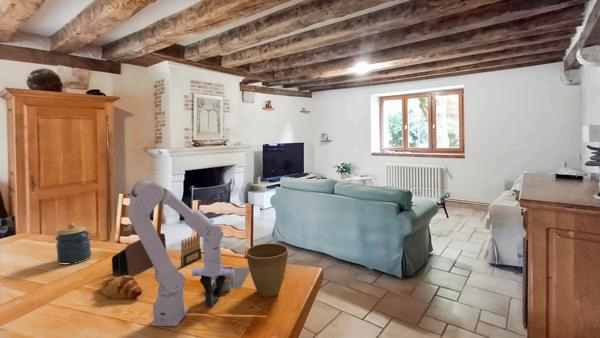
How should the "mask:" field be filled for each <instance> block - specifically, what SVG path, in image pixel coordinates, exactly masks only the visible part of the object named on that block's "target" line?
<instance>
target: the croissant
mask: <svg viewBox="0 0 600 338" xmlns="http://www.w3.org/2000/svg"><path fill="white" fill-rule="evenodd" d="M138 283H139V282H137V281H136V280H135V278H134V276H133V277H132V276H122V277H121V276H118V277H117V276H116V277H111V278H108V279H105V280H104V281H102V283H101V284H100V287H101V292H102V293H103V295H104V296H105V298H111V299H113V300H114V299H115V300H119V299H135V298H137V297H139V296H140V297H141V295H142V294H143V290H142V289H141V286H140V285H139V284H138Z"/></svg>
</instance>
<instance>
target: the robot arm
mask: <svg viewBox="0 0 600 338" xmlns="http://www.w3.org/2000/svg"><path fill="white" fill-rule="evenodd" d="M129 198H130V199H129V206H128V212H127V216H128V219H129V221H130V223H131V225H132V227H133V229H134V231H135V232H136V235H137V236H138V238H139V239H138V240H141V242H142V244H143V246H144V248H145V250H146V252H147V254H148V256H149V258H150V260H151V262H152V263H153V265H154V267H152V268H153V270H154V279H155V281H156V282H157V283H158V284H159V286H158V289H157V298H156V300H155V301H154V302H153V305H152V306H153V307H152V310H153V311H152V312H153V322H152V323H151V326H153V327H155V326H156V327H158V326H159V327H161V326H162V327H177V326H178V325H179V324H180V322H182V320H183V319H184V317H185V316H186V315H187V314H188V312H189V310H190V307H185V299H184V287H185V284H186V278H185V275H184V274H183V273H181V271H178V269H177V267H176V265H175V264H174V263H173V261H172V259H171V258H170V256H169V254H168V252H167V249H166V250H165V248H164V246H163V244H162V242H161V240H160V238H159V236H158V234H159V233H158V232H157V230H156V228H155V226H154V224H153V221H152V220H151V218H150V216H151V214H152V212H153V210H154V209H155V208H156V207H157V206H158V205H159V204H161V205H167V206H168V207H169V208H171V209H172V210H174V211H175V212H176V213H178V214H179V215H181V216H182V217H183V218H184V224H185V225H186V226H188V227H189V228H190V229H192V231H194V232H196V233H197V234H198V236H199V238H202V245H203V246H202V248H203V264H204V265H203V267H204V268H194V269H192V270H191V277H194V278H195V277H200V278H199V282H200V284H201V285H202V286H203V287H204V288H203V289H204V291H205V293H206V292H207V291H208V290H209V288H210V287H211V278H212V277H213V276H218V277H217V278H216V280H215V282H216V286H217V298H220V297H221V296H222V293H223V291H222V287H223V284H224V281H225V278H226V276H227V277H234V275H235V270H231V269H225V268H222V265H223V264H222V252H221V251H222V248H221V246H222V245H221V244H222V243H221V241H222V239H223V237H224V231H223V230H222V228H221V227H220V226H219V225H218V224H215V223H214V220H213V219H212V218H209V217H207V216H206V215H205V212H204V211H203V210H201V209H200V210H199V209H191V208H190V207H189V206H188V205H187V204H186V203H184V202H183V201H182V199H180V198H179V197H178V196H177V195H175V193H173V191H171V190H169V189H168V188H166V187H163V185H161V184H160V183H158V182H152V181H150V180H148V179H141V180H138V181H137V182H136V183H135V184H134V185H133V187H132V188H131V190H130V191H129Z"/></svg>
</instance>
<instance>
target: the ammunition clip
mask: <svg viewBox="0 0 600 338" xmlns="http://www.w3.org/2000/svg"><path fill="white" fill-rule="evenodd" d="M180 246H181V247H180V248H181V249H180V253H181V254H180V267H182V268H186V267H188V266H189V265H191V264H194V263H196V262H197V261H198V262H199V261H200V260H201V259H202V248H201V243H200V235H199V234H198V233H197V234H196V235H195V234H194V235H193V236H190V237H187V238H185V239H184V240H183V239H182V240H181V244H180ZM187 265H188V266H187ZM185 266H186V267H185Z"/></svg>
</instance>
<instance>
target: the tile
mask: <svg viewBox="0 0 600 338" xmlns="http://www.w3.org/2000/svg"><path fill="white" fill-rule="evenodd" d="M221 265H222V268H225V269H231V270H234V269H233V268H234V265H230V264H229V265H223V264H221ZM217 277H218V276H215V280H216V278H217ZM225 281H231V285H233V284H234V277H227V276H226V278H225Z"/></svg>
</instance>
